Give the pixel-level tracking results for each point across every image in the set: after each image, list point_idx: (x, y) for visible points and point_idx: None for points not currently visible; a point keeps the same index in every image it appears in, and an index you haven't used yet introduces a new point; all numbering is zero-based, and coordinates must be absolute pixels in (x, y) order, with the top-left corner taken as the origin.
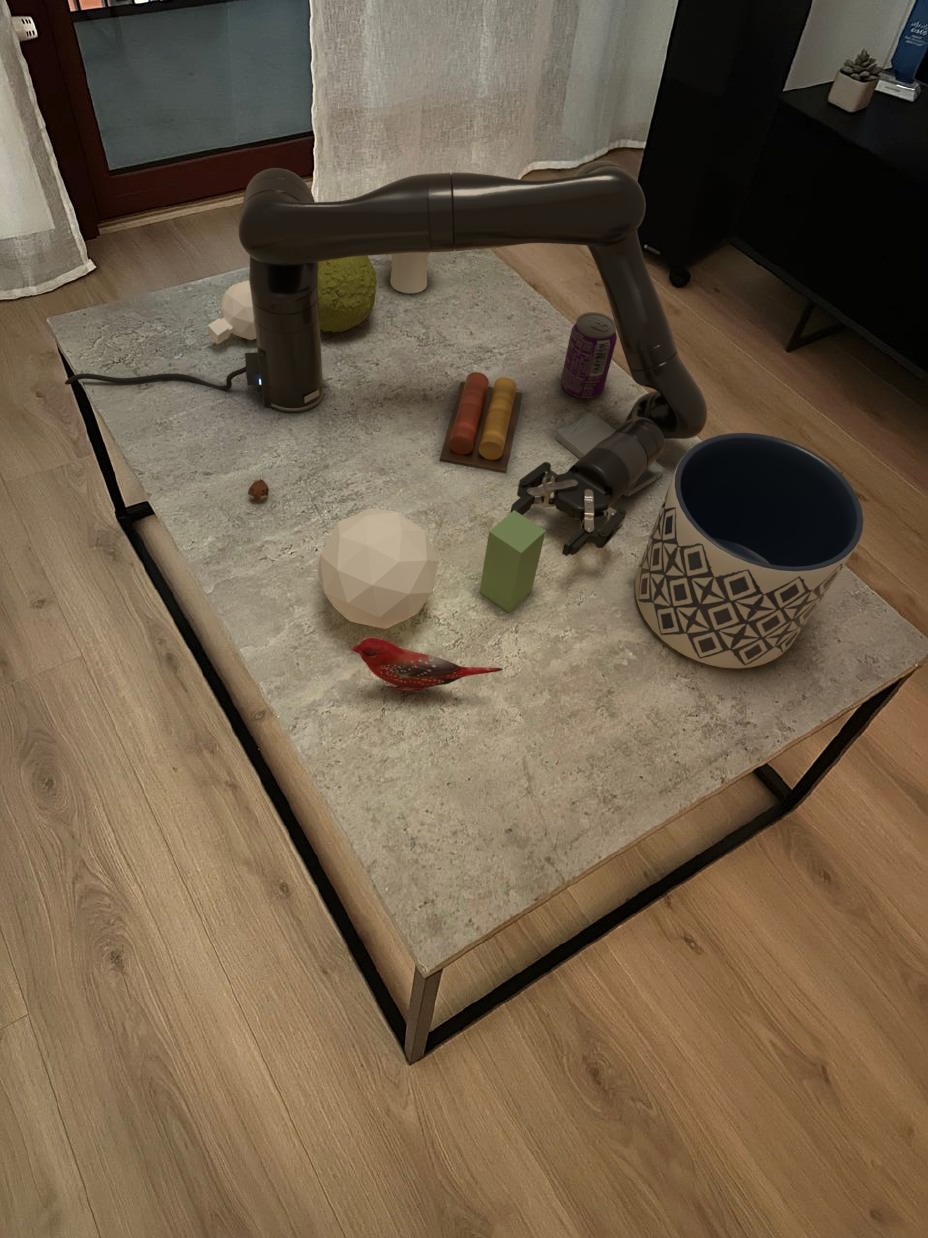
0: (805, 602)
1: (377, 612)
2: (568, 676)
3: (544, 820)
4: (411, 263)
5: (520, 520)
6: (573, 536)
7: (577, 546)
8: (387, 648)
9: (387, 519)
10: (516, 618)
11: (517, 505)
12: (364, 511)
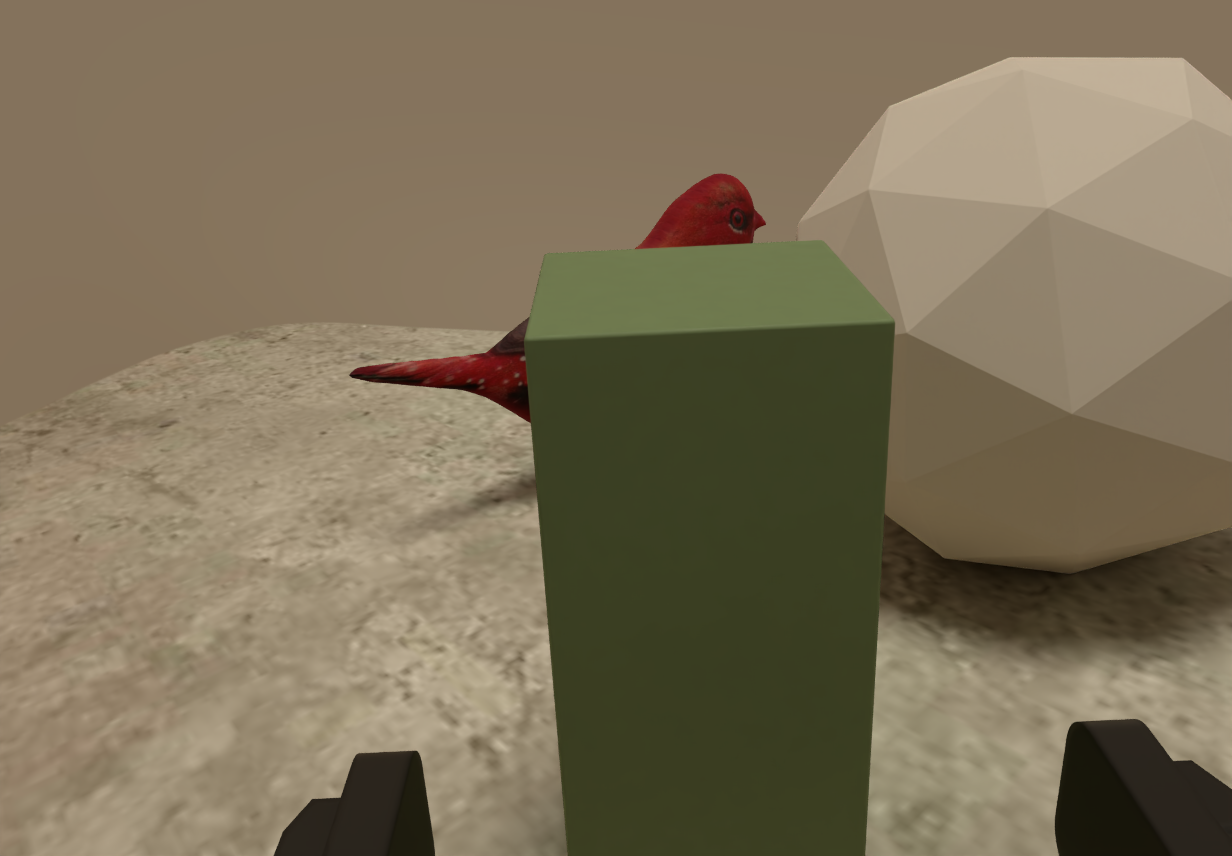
0: None
1: None
2: (117, 734)
3: (76, 461)
4: None
5: (759, 305)
6: (374, 844)
7: (284, 833)
8: (675, 200)
9: (1128, 76)
10: (527, 791)
11: (1164, 765)
12: None
